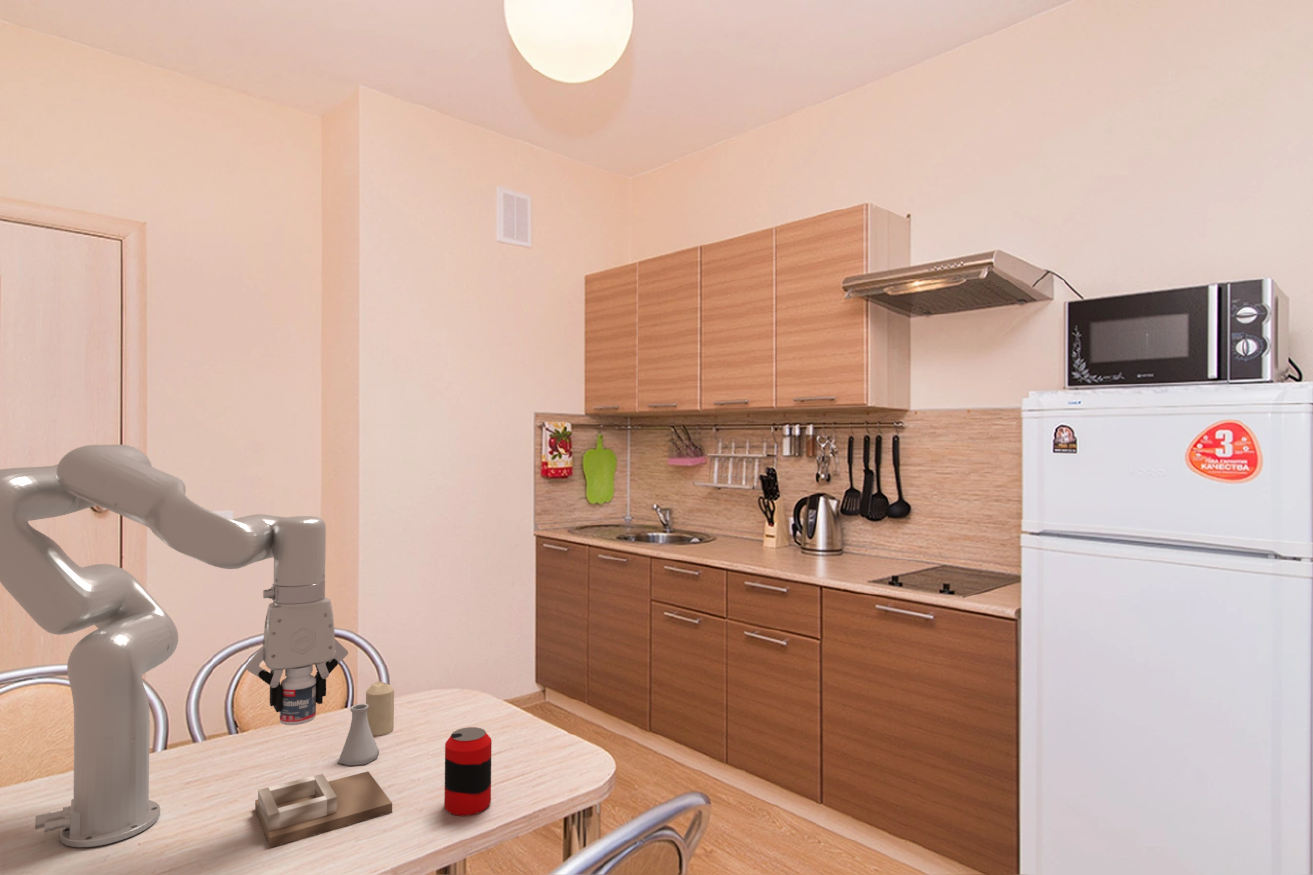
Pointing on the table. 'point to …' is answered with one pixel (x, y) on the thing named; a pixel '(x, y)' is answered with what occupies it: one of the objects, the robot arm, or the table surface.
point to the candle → (380, 708)
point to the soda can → (467, 771)
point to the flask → (359, 739)
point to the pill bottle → (298, 696)
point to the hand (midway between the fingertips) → (298, 704)
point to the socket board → (318, 806)
